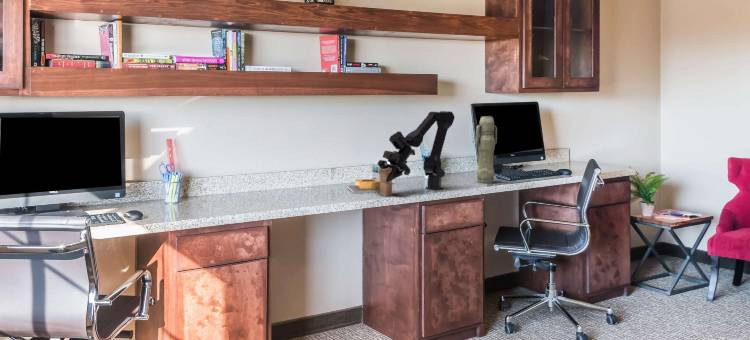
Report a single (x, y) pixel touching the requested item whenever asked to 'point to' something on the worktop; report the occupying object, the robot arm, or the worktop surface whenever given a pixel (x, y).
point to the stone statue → (486, 149)
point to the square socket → (365, 186)
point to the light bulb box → (378, 172)
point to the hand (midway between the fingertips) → (383, 180)
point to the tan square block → (385, 182)
